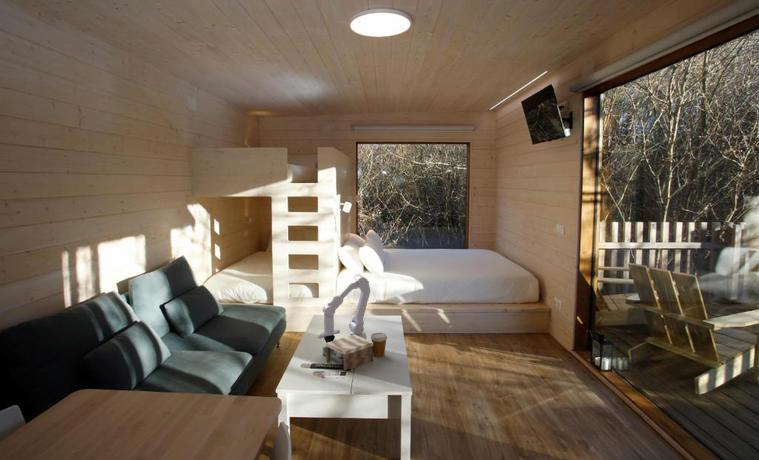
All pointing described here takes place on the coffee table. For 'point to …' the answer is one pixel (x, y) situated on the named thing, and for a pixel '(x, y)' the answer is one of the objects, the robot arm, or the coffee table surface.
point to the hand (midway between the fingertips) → (329, 347)
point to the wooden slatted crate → (352, 350)
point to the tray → (334, 355)
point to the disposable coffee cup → (379, 344)
